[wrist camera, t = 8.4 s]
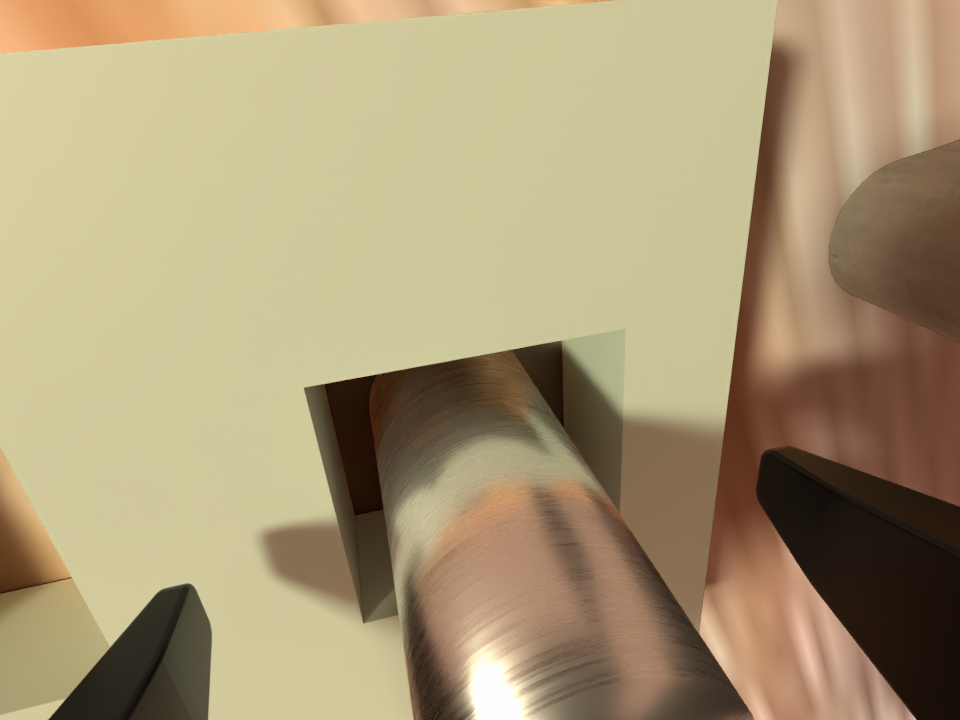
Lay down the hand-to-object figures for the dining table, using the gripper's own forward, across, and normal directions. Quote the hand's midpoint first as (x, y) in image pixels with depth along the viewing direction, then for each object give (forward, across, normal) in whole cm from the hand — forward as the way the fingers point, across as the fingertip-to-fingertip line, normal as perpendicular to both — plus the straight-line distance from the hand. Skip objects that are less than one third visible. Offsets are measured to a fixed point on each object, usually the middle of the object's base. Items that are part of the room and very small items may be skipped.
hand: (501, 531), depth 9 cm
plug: (+4, 0, 0) cm, 4 cm away
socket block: (+4, +4, 0) cm, 6 cm away
